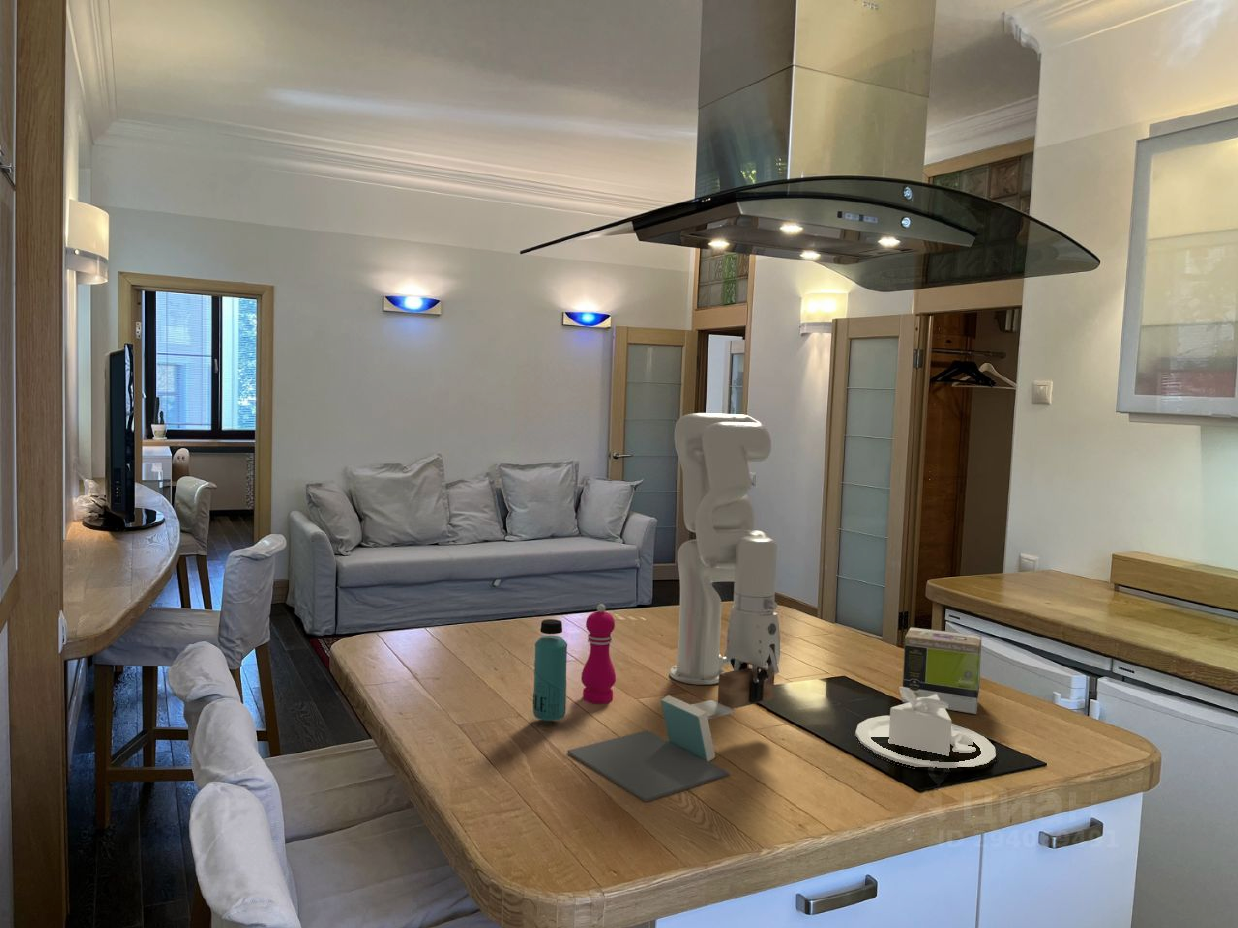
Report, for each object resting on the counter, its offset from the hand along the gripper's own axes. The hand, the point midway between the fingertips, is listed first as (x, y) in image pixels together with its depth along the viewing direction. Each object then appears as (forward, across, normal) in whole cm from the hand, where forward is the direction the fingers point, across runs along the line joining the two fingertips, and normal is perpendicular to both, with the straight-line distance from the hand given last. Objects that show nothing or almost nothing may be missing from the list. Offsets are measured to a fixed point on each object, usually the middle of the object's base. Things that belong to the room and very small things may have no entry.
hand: (749, 697), depth 164 cm
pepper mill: (+7, +31, +12) cm, 34 cm away
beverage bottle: (+7, +25, +28) cm, 39 cm away
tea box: (+7, -9, -49) cm, 51 cm away
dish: (+8, -21, -25) cm, 34 cm away
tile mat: (+7, 0, +25) cm, 26 cm away
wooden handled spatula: (+1, 0, +6) cm, 6 cm away
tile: (+7, 0, +14) cm, 16 cm away
